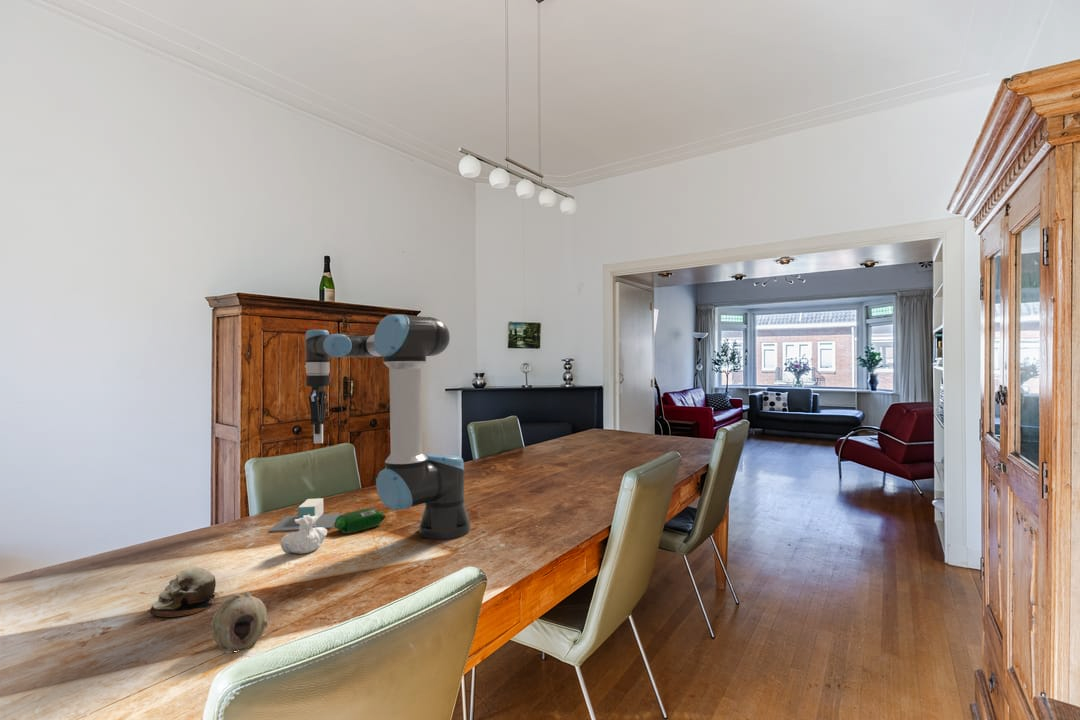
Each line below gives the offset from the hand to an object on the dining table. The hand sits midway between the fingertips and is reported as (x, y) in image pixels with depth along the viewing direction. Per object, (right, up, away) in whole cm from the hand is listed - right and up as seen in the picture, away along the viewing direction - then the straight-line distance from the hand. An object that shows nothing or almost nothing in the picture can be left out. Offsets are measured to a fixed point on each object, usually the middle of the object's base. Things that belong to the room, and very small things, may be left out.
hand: (318, 443), depth 170 cm
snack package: (+21, -24, -17) cm, 36 cm away
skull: (+1, -24, -65) cm, 69 cm away
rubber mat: (+2, -24, -12) cm, 27 cm away
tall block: (0, -21, -3) cm, 21 cm away
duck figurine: (+12, -24, -36) cm, 45 cm away
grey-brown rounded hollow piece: (+22, -23, -80) cm, 86 cm away
